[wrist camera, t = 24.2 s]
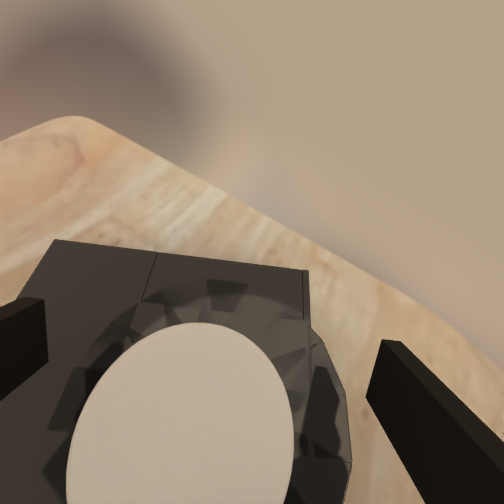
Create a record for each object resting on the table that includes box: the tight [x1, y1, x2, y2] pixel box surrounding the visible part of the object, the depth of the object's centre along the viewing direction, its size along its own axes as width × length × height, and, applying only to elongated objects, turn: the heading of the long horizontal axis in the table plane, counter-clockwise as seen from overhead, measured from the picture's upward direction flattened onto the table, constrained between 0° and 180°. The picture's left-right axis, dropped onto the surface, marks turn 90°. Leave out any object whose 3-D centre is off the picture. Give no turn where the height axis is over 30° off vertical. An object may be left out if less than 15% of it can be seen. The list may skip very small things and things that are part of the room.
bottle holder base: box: [0, 239, 352, 504], centre depth 12 cm, size 18×16×3 cm
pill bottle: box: [66, 323, 294, 504], centre depth 9 cm, size 6×6×10 cm
